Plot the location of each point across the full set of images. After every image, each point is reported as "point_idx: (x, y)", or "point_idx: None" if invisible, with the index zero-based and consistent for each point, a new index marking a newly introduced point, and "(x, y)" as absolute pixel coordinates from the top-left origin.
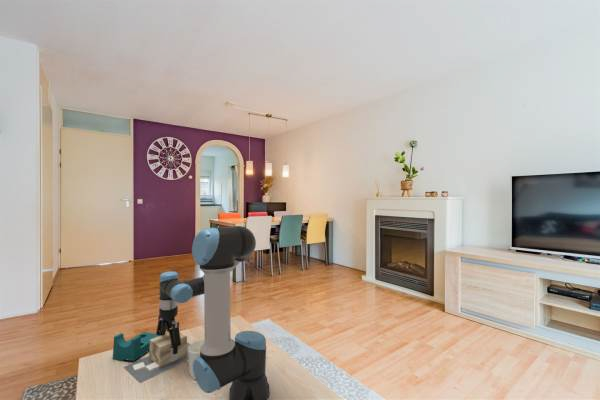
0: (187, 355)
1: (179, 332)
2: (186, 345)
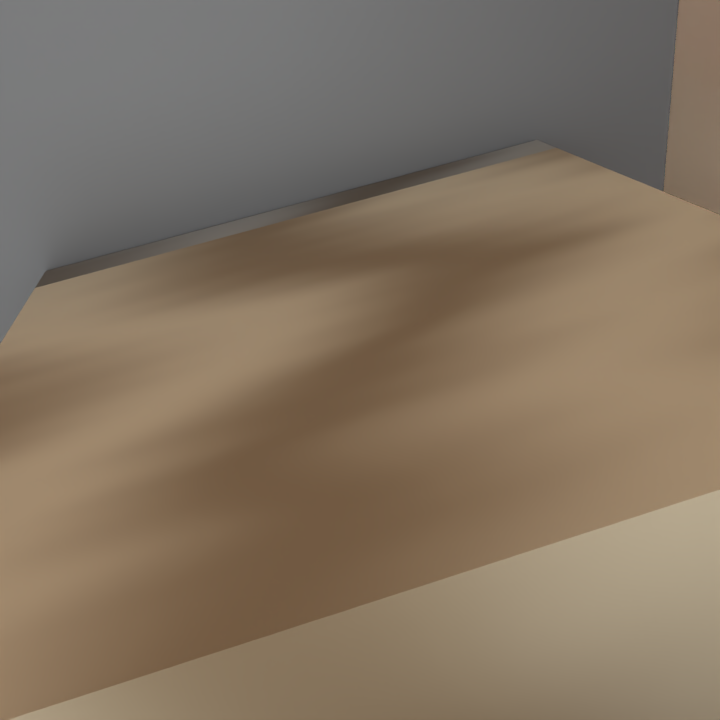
0: (525, 113)
1: (316, 637)
2: (710, 222)
